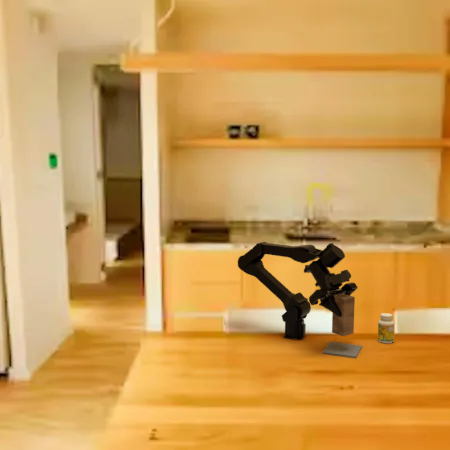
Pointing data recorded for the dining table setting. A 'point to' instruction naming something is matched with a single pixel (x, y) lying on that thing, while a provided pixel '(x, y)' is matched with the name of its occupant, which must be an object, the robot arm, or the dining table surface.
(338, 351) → the charcoal mat
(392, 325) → the supplement bottle
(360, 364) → the dining table surface
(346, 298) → the walnut block
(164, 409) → the dining table surface
